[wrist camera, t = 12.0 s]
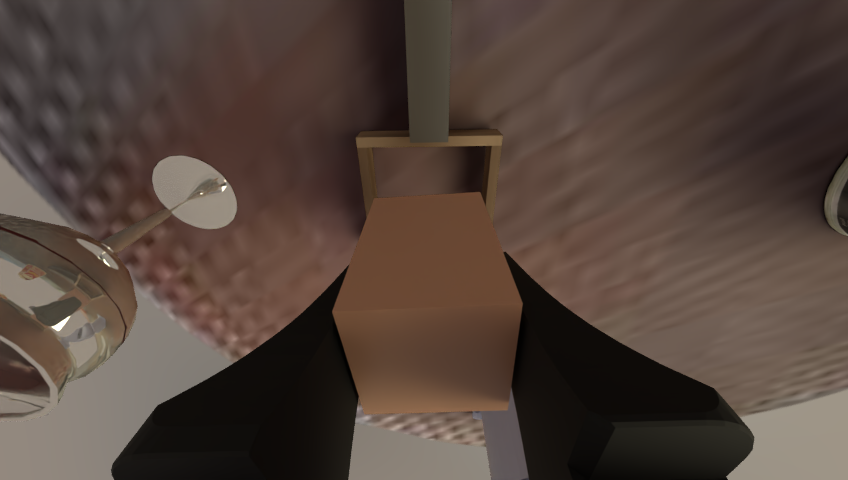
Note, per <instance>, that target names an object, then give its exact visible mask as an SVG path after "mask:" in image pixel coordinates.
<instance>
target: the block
mask: <svg viewBox="0 0 848 480" xmlns="http://www.w3.org/2000/svg"><path fill="white" fill-rule="evenodd" d="M522 305H523V303H522V300H521V298H520V295H519V292H518V290H517V287H516V284H515V282H514V279H513V277H512V274H511V271H510V269H509V266H508V264H507V261H506V258H505V256H504V253H503V250H502V248H501V245H500V243H499V240H498V237H497V235H496V232H495V230H494V227H493V224H492V222H491V219H490V216H489V214H488V211H487V209H486V206H485V203H484V201H483V198H482V195H481V193H480V192H469V193H453V194H436V195H420V196H403V197H387V198H374V200H373V203H372V205H371V208H370V211H369V214H368V216H367V219H366V222H365V224H364V227H363V230H362V232H361V235H360V238H359V241H358V243H357V246H356V249H355V251H354V254H353V257H352V259H351V262H350V265H349V268H348V270H347V273H346V276H345V278H344V281H343V284H342V286H341V289H340V292H339V295H338V297H337V300H336V303H335V305H334V308H333V311H332V313H333V316H334V319H335V323H336V326H337V329H338V332H339V335H340V338H341V341H342V345H343V348H344V351H345V354H346V357H347V360H348V363H349V367H350V370H351V373H352V376H353V379H354V382H355V386H356V389H357V392H358V395H359V398H360V401H361V404H362V408H363V411H364V414H393V413H429V412H465V411H501V410H508V405H509V398H510V391H511V384H512V377H513V370H514V363H515V355H516V348H517V341H518V334H519V327H520V320H521V313H522Z"/></svg>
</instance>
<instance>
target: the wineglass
mask: <svg viewBox="0 0 848 480" xmlns="http://www.w3.org/2000/svg"><path fill="white" fill-rule="evenodd" d="M152 182H153V186H154V191H155V193H156V194H157V196H158V198H159V200H160V201H161V203H162V204H163V205H164V206H165V207H166V208H164V209H162V210H160V211H158V212H156V213H154V214H152V215H150V216H149V217H147V218H145V219H143V220H141V221H139V222H137V223H135V224H133V225H131V226H129V227H127V228H125V229H124V230H122V231H120V232H118V233H116V234H114V235H112V236H110V237H108V238H106V239H104V240H102V241H98V240H95V239H93V238H91V237H90V236H88V235H86V234H84V233H81V232H79V231H76V230H74V229H71V228H69V227H65V226H59V225H55V224H50V223H45V222H40V221H35V220H31V219H26V218H21V217H16V216H11V215H6V214H0V422H1V421H28V420H31V419H35V418H38V417H42V416H45V415H48V414H49V413H50V412H51V411H52V410H53V409H54V408H55V407H56V406H57V405H58V403H59V401H60V399H61V397H62V395H63V392H64V390H65V387H66V384H67V383H68V382H71V381H74V380H76V379H79V378H82V377H85V376H86V375H88V374H89V373H91V372H92V371H94V370H95V369H97V368H98V367H100V366H101V365H103V364H104V363H105V362H106V361H107V360H108V359H109V358H110V357H111V356H112V355H113V354H114V353H115V352H116V350H117V349H118V348H119V347H120V345H122V343H123V342H124V341H125V339H126V337H127V336H128V335H129V333H130V330H131V328H132V326H133V323H134V321H135V318H136V312H137V301H136V296H135V291H134V286H133V282H132V279H131V276H130V273H129V271H128V269H127V268H126V267H125V265H124V264H123V263H122V261H121V260H120V259H119V258H118V255H117V254H118V253H119V252H120V251H122V250H123V249H125V248H126V247H127V246H129V245H130V244H132V243H133V242H135V241H136V240H137V239H139V238H140V237H142V236H143V235H144V234H146V233H147V232H149V231H150V230H151V229H153V228H154V227H156V226H157V225H159V224H160V223H161V222H163V221H164V220H166V219H167V218H168V217H170V216H171V215H174V216H176V217H177V218H179V219H180V220H181V221H183V222H185V223H188V224H190V225H192V226H194V227H199V228H204V229H218V228H221V227H224V226H226V225H228V224H229V223H230V222H231V221H232V220H233V219H234V217H235V214H236V211H237V202H236V197H235V194H234V192H233V190H232V187H231V186H230V185H229V183H228V182H227V181H226V179H225V178H224V177H223V176H222V175H221V174H220V173H219V172H218V171H216V170H215V169H214V168H213V167H211V166H210V165H208V164H206V163H204V162H202V161H200V160H198V159H195V158H191V157H187V156H183V155H182V156H169V157H167V158H165V159H163V160H161V161H159V163H158V164H157V165H156V167H155V168H154V170H153V176H152Z"/></svg>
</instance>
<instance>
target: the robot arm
mask: <svg viewBox="0 0 848 480" xmlns="http://www.w3.org/2000/svg"><path fill="white" fill-rule="evenodd" d="M503 253H504V256H505V258H506V261H507V264H508V266H509V269H510V271H511V274H512V277H513V279H514V282H515V284H516V287H517V290H518V292H519V295H520V298H521V300H522V303H523V305H522V313H521V320H520V327H519V334H518V341H517V348H516V355H515V363H514V370H513V377H512V384H511V391H510V398H509V405H508V410H501V411H472V416H473V418H474V419H482V421H483V428H484V435H485V441H486V448H487V455H488V461H489V468H490V475H491V480H728V479H727V478H726V476H727V475H728V474H729V473H730V472H731V471H733V470H734V469H735V468H736V467H737V466H738V465H739V464H740V463H741V462H742V461H743V460H744V459H745V458H746V457H747V456H748V455H749V453H750V452H751V451H752V449H753V443H754V436H753V434H752V432H751V431H750V429H749V428H748V427H747V426H746V425H745V423H744V422H743V421H742V420H741V419H740V418H739V416H738V415H737V414H736V413H735V412H734V411H733V409H732V408H731V407H730V406H729V405H728V404H727V402H726V401H725V400H724V399H723V398H722V397H721V396H720V395H719V393H718V392H717V391H716V390H715V389H714V388H712V387H710V386H708V385H705V384H703V383H701V382H699V381H697V380H694V379H692V378H690V377H688V376H686V375H683V374H681V373H679V372H677V371H674V370H672V369H670V368H668V367H666V366H664V365H662V364H659V363H657V362H656V361H654V360H652V359H650V358H648V357H646V356H644V355H642V354H640V353H638V352H636V351H634V350H632V349H631V348H629V347H627V346H625V345H623V344H622V343H620V342H618V341H616V340H615V339H613V338H611V337H610V336H608V335H606V334H605V333H603V332H601V331H600V330H598V329H596V328H595V327H593V326H592V325H590V324H589V323H587V322H586V321H584V320H583V319H581V318H580V317H579V316H577V315H576V314H574V313H573V312H572V311H570V310H569V309H567V308H566V307H565V306H563V305H562V304H561V303H560V302H558V301H557V300H556V299H555V298H553V297H552V296H551V295H550V294H549V293H547V292H546V291H545V290H544V289H543V288H542V287H541V286H540V285H539V284H538V283H536V282H535V281H534V280H533V279H532V278H531V277H530V276H529V275H528V274H527V273H526V272H525V271H524V270H523V269H522V268H521V267H520V266H519V265H518V264H517V263H516V262H515V261H514V260H513V259H512V258H511V257H510V256H509V255H508V254H507V253H506V252H503ZM349 265H350V264H349ZM349 265H348V266H347V268H346V269H345V270H344V271H343V272H342V273H341V274H340V275H339V276H338V277H337V279H336V280H335V281H334V282H333V283H332V284H331V285H330V286H329V287H328V288H327V289H326V290H325V291H324V292H323V293H322V294H321V295H320V296H319V297H318V298H317V299H316V300H315V301H314V302H313V303H312V304H311V305H310V306H309V307H308V308H307V309H306V310H305V311H304V312H303V313H301V314H300V315H299V316H298V317H297V318H296V319H295V320H293V321H292V322H291V323H290V324H288V325H287V326H286V327H285V328H283V329H282V330H281V331H280V332H278V333H277V334H276V335H275V336H273V337H272V338H270V339H269V340H267V341H266V342H265V343H263V344H262V345H260V346H259V347H258V348H256V349H255V350H253V351H252V352H250V353H249V354H248V355H246V356H244V357H243V358H241V359H240V360H238V361H237V362H235V363H233V364H232V365H230V366H229V367H227V368H225V369H224V370H222V371H220V372H219V373H217V374H215V375H214V376H212V377H210V378H208V379H207V380H205V381H203V382H201V383H199V384H198V385H196V386H194V387H192V388H190V389H188V390H186V391H184V392H182V393H181V394H179V395H177V396H175V397H173V398H171V399H169V400H167V401H165V402H163V403H161V404H159V405H158V406H157V407H156V408H155V409H154V411H153V412H152V413H151V415H150V416H149V417H148V419H147V420H146V421H145V423H144V424H143V425H142V426H141V428H140V429H139V430H138V432H137V433H136V434H135V435H134V437H133V438H132V439H131V441H130V442H129V443H128V445H127V446H126V447H125V448H124V450H123V451H122V452H121V454H120V455H119V457H118V458H117V459H116V460H115V462H114V463H113V465H112V469H111V472H112V476H113V478H114V480H348V477H349V468H350V459H351V449H352V441H353V434H354V426H355V418H356V411H357V404H358V397H359V395H358V392H357V389H356V386H355V382H354V379H353V376H352V373H351V370H350V367H349V363H348V360H347V357H346V354H345V351H344V348H343V345H342V341H341V338H340V335H339V332H338V329H337V326H336V323H335V319H334V316H333V313H332V311H333V308H334V305H335V303H336V300H337V297H338V295H339V292H340V289H341V286H342V284H343V281H344V278H345V276H346V273H347V270H348V268H349Z"/></svg>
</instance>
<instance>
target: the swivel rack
mask: <svg viewBox="0 0 848 480" xmlns="http://www.w3.org/2000/svg"><path fill="white" fill-rule="evenodd" d="M404 11H405V36H406V60H407V85H408V109H409V130H405V131H361V132H360V133H359V134H358V136H357V137H356V144H357V151H358V159H359V166H360V174H361V182H362V189H363V197H364V204H365V212H366V219H367V216H368V214H369V211H370V208H371V205H372V203H373V200H374V198H377V189H376V179H375V170H374V161H373V151H372V147H440V146H486V153H485V164H484V175H483V186H482V198H483V201H484V203H485V206H486V209H487V211H488V214H489V216H490V219H491V222H492V223H493V215H494V206H495V198H496V189H497V181H498V172H499V164H500V155H501V147H502V138H503V135H502V134H501V133H500V132H499V131H498V130H497V129H470V130H449V93H450V53H451V14H452V0H404Z"/></svg>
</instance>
